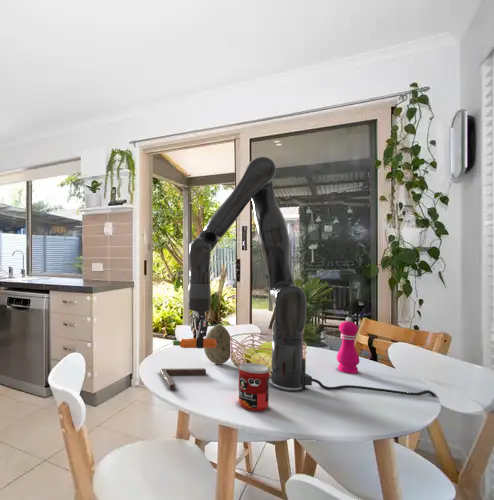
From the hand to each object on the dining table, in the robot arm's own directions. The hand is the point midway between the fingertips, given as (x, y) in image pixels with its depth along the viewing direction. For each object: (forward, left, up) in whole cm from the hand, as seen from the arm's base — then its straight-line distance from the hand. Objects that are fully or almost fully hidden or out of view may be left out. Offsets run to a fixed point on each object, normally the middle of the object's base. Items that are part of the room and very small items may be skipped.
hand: (198, 346), depth 127 cm
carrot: (0, 0, 0) cm, 0 cm away
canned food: (-9, +23, -11) cm, 27 cm away
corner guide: (+4, +3, -11) cm, 12 cm away
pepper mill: (-59, -7, -11) cm, 60 cm away
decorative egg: (-13, -17, -11) cm, 24 cm away
